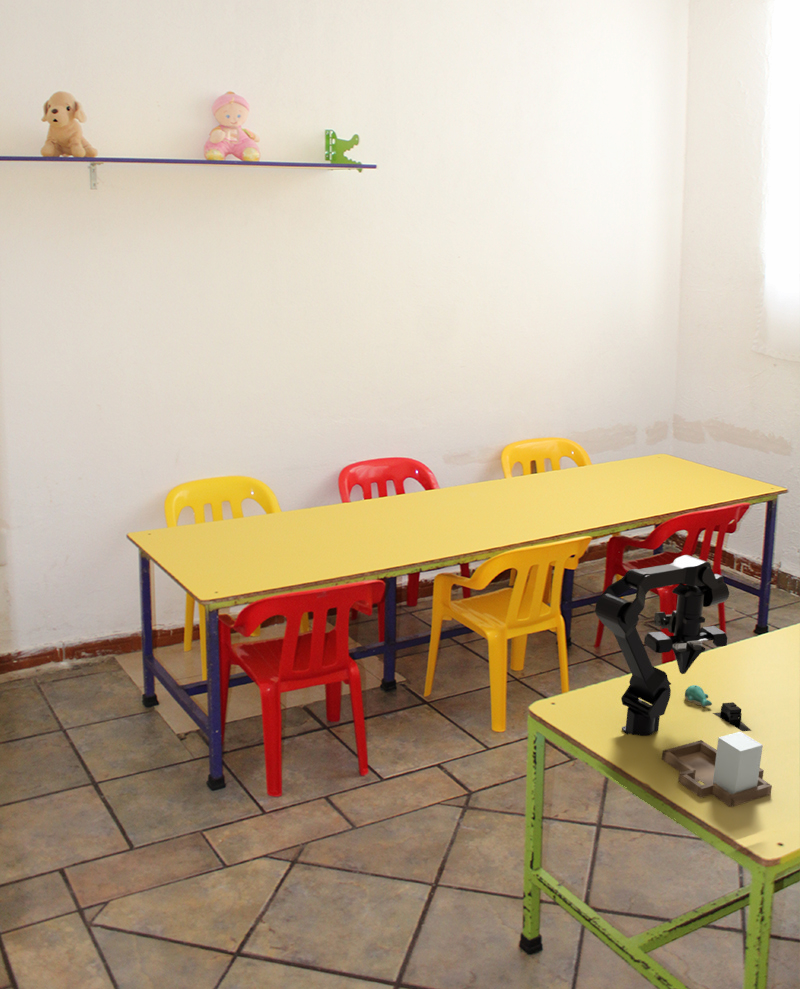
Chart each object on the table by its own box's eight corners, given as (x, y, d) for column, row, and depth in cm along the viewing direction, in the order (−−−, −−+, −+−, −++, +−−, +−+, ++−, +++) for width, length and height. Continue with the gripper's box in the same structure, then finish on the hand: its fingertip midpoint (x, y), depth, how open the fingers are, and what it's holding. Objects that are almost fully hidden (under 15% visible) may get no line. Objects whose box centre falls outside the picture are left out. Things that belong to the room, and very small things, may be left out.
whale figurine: (698, 694, 244) (700, 680, 243) (717, 708, 238) (718, 693, 237) (678, 697, 242) (680, 683, 241) (697, 711, 236) (698, 697, 235)
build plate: (757, 735, 226) (760, 717, 225) (729, 738, 224) (731, 719, 223) (729, 710, 238) (731, 693, 236) (701, 712, 236) (703, 695, 235)
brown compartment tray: (650, 766, 210) (651, 753, 209) (709, 750, 218) (711, 737, 217) (718, 816, 193) (720, 801, 192) (780, 796, 200) (782, 782, 200)
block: (712, 785, 201) (718, 737, 199) (734, 779, 204) (740, 731, 201) (734, 800, 196) (740, 751, 193) (756, 793, 199) (762, 745, 196)
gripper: (704, 594, 234) (697, 655, 238) (634, 601, 228) (629, 662, 233) (732, 611, 223) (724, 674, 228) (660, 619, 218) (653, 683, 222)
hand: (682, 673), depth 228 cm, fingers closed
